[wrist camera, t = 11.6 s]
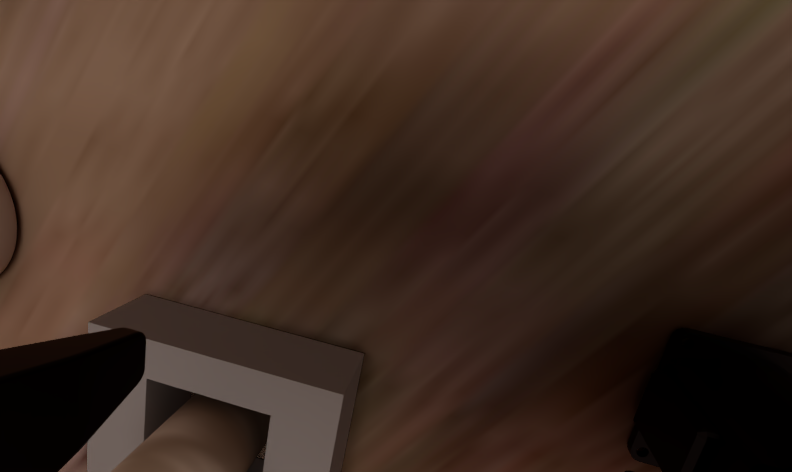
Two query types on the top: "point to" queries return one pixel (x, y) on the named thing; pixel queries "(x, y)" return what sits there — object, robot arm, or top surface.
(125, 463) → the peg
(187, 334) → the socket
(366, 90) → the top surface
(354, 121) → the top surface
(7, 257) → the fruit juice
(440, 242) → the top surface
